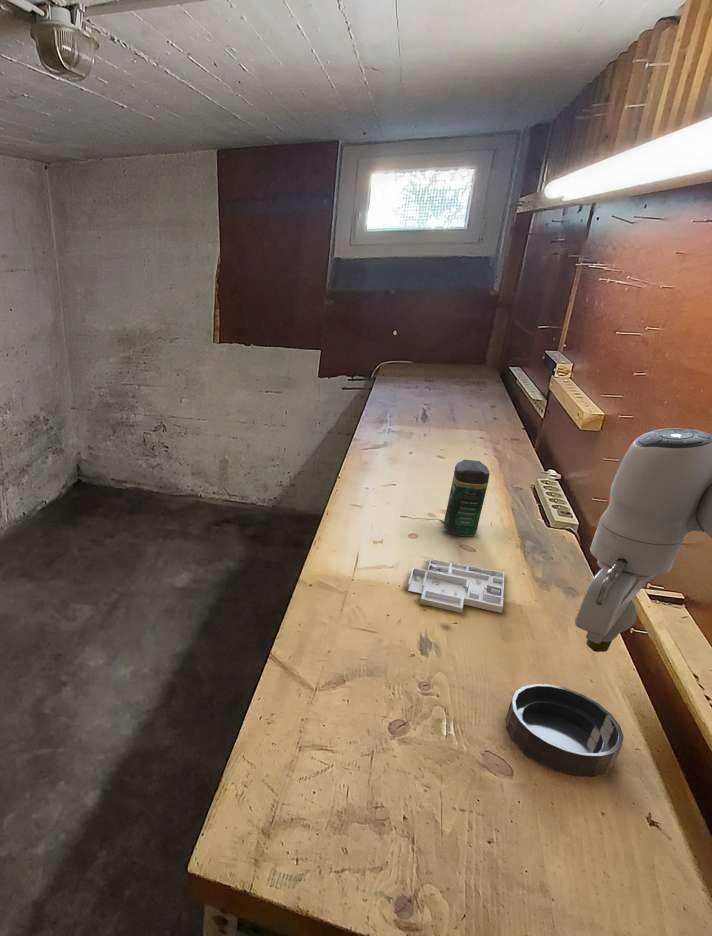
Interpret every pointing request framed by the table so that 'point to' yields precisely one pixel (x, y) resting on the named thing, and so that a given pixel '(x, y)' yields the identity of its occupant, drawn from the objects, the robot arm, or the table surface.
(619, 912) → the table surface
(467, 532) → the coffee jar
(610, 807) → the table surface
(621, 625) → the light bulb
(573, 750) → the bowl
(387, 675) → the table surface
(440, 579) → the floor plan model
